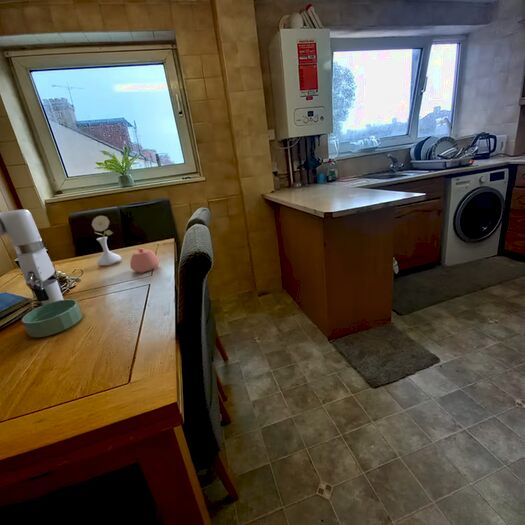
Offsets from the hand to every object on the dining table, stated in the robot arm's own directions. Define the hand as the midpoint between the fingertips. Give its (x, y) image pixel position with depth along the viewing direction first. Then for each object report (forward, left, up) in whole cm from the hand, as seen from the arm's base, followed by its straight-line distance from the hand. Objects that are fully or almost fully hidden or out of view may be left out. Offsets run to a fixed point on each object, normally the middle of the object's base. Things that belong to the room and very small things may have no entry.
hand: (50, 294), depth 97 cm
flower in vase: (+7, +47, -6) cm, 48 cm away
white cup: (0, 0, -6) cm, 6 cm away
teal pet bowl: (+6, -14, -6) cm, 16 cm away
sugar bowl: (+27, +27, -6) cm, 39 cm away
